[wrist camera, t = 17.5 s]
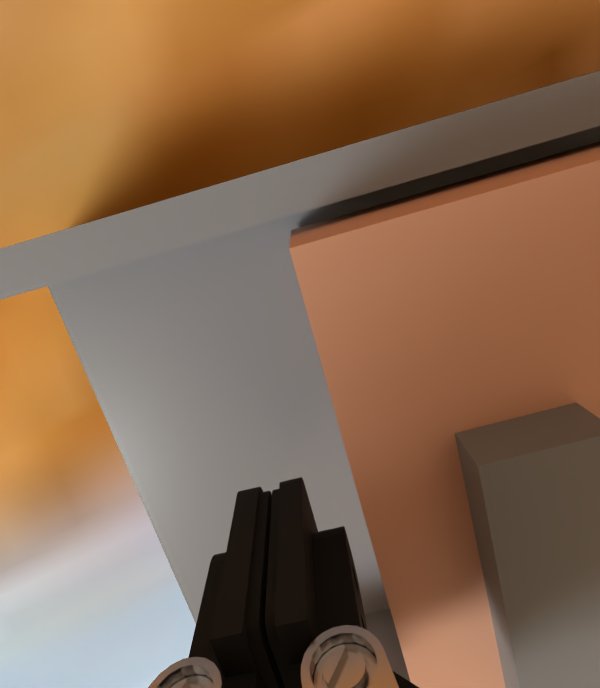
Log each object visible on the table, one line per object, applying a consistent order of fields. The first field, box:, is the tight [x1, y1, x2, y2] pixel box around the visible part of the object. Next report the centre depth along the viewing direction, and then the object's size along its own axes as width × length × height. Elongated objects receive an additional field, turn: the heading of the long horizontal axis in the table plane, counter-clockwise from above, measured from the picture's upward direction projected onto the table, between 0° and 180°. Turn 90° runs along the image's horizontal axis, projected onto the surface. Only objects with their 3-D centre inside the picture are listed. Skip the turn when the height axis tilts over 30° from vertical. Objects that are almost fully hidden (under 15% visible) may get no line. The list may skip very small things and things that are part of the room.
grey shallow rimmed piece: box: [0, 71, 600, 681], centre depth 14 cm, size 20×16×4 cm
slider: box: [289, 141, 600, 688], centre depth 11 cm, size 9×13×7 cm
